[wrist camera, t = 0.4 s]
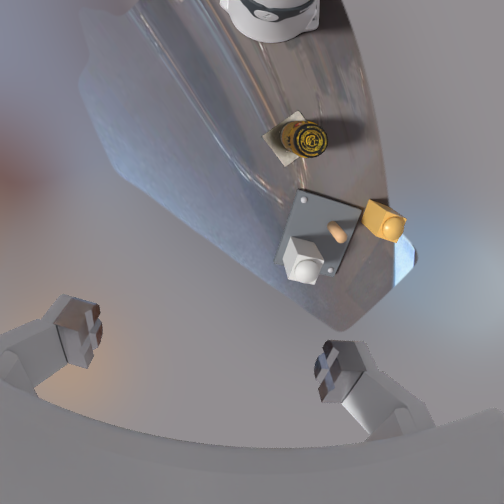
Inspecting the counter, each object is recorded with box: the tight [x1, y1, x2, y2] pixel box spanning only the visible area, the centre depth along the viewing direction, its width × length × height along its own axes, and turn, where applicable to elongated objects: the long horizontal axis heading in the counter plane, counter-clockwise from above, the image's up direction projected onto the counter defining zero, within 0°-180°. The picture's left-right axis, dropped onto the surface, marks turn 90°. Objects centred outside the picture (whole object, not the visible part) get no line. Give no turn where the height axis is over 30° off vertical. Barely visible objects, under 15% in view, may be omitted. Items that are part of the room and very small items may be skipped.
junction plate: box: [274, 189, 362, 285], centre depth 53 cm, size 16×14×10 cm
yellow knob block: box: [361, 199, 407, 243], centre depth 52 cm, size 5×5×9 cm
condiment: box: [262, 111, 328, 167], centre depth 44 cm, size 7×8×12 cm
